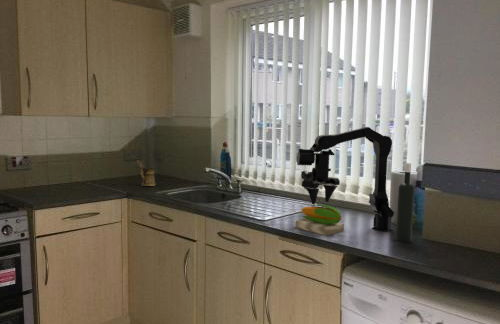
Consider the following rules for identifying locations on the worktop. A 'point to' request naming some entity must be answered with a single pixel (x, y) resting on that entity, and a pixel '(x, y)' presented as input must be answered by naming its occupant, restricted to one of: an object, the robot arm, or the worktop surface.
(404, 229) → the wine bottle
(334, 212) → the corn
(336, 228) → the birch base
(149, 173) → the wooden mug
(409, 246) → the worktop surface
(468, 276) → the worktop surface
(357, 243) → the worktop surface
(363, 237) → the worktop surface
